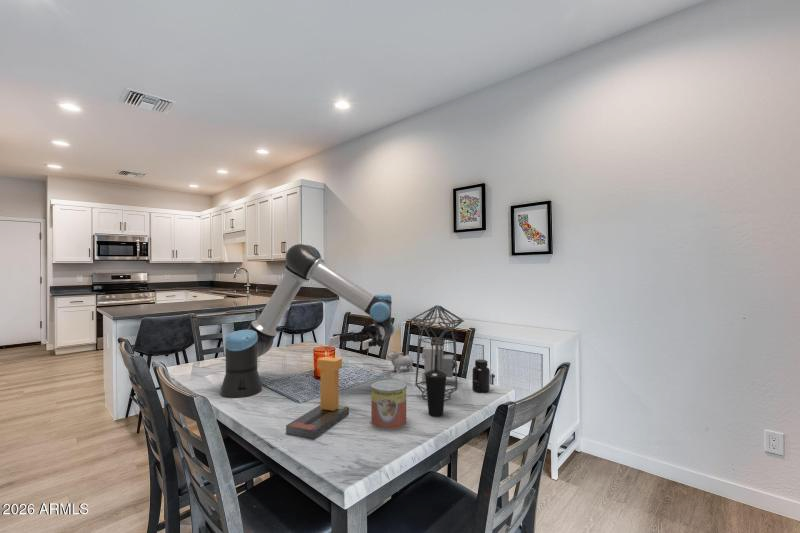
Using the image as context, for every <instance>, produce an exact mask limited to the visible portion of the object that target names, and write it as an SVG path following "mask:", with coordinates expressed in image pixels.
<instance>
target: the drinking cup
mask: <svg viewBox="0 0 800 533" xmlns="http://www.w3.org/2000/svg"><path fill="white" fill-rule="evenodd" d="M425 377H426V385H425V386H426V388H425V389H427V391H426V393H427V394H426V395H427V396H426V399H427V400H426V401H427V410H428V415H429V416H430V417H435V418H438V417H442V416H444V409H445V408H444V406H445V401H444V400H445V399H446V398H445V397H446V396H445V394H446V392H445V390H446V384H447V383H446V382H447V378H448V377H447V373H446V372H444V371H442V370H438V369H437V354H435V369H433V370H429V371H427V372H425Z"/></svg>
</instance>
